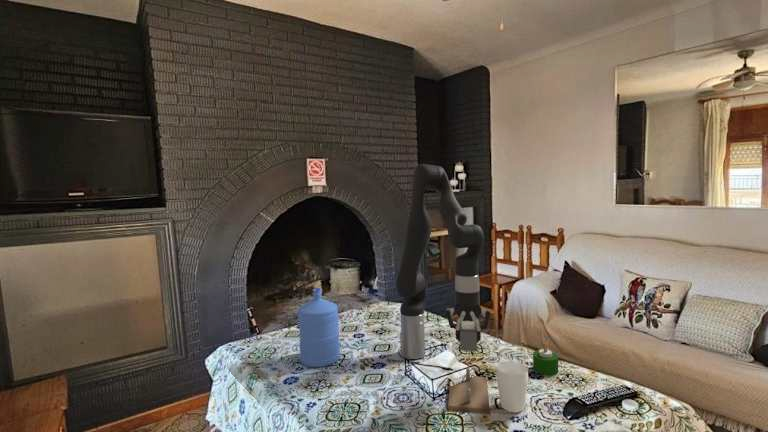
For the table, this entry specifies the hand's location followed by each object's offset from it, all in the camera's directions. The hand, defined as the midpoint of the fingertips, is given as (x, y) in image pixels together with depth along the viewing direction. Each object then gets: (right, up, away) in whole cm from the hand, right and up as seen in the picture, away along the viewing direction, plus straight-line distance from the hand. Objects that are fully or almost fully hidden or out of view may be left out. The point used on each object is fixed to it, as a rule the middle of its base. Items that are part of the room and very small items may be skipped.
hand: (468, 341), depth 122 cm
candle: (+31, -15, +15) cm, 38 cm away
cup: (+12, -18, -6) cm, 22 cm away
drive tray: (0, -17, +1) cm, 17 cm away
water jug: (-52, -17, +30) cm, 62 cm away
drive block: (0, -1, 0) cm, 1 cm away
